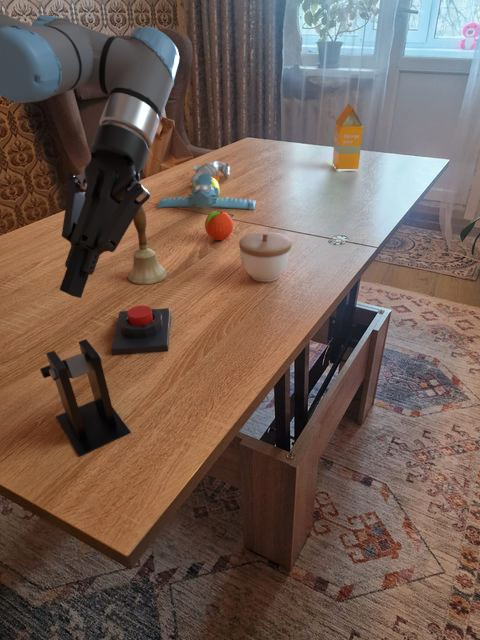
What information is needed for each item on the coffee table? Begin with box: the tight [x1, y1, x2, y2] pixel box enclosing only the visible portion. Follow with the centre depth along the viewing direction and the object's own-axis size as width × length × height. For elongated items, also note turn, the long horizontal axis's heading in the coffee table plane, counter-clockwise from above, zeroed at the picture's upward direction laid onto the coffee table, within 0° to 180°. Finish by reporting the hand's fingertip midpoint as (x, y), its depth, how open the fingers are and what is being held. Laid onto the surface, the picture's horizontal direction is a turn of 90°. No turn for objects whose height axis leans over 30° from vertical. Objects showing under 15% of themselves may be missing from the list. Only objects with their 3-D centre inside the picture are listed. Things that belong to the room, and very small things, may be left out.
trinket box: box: [238, 231, 292, 283], centre depth 100 cm, size 11×11×9 cm
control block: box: [110, 307, 172, 356], centre depth 82 cm, size 9×12×4 cm
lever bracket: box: [45, 339, 132, 458], centre depth 62 cm, size 9×7×13 cm
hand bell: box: [127, 205, 168, 285], centre depth 98 cm, size 8×8×16 cm
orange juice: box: [332, 104, 364, 170], centre depth 166 cm, size 8×9×20 cm
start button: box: [127, 305, 153, 326], centre depth 81 cm, size 4×4×2 cm
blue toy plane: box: [157, 173, 257, 211], centre depth 137 cm, size 28×9×15 cm
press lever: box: [39, 353, 90, 379], centre depth 63 cm, size 11×6×2 cm
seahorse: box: [190, 160, 231, 185], centre depth 158 cm, size 5×12×20 cm
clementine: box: [204, 210, 234, 241], centre depth 117 cm, size 8×7×7 cm
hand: (70, 293), depth 66 cm, fingers closed
